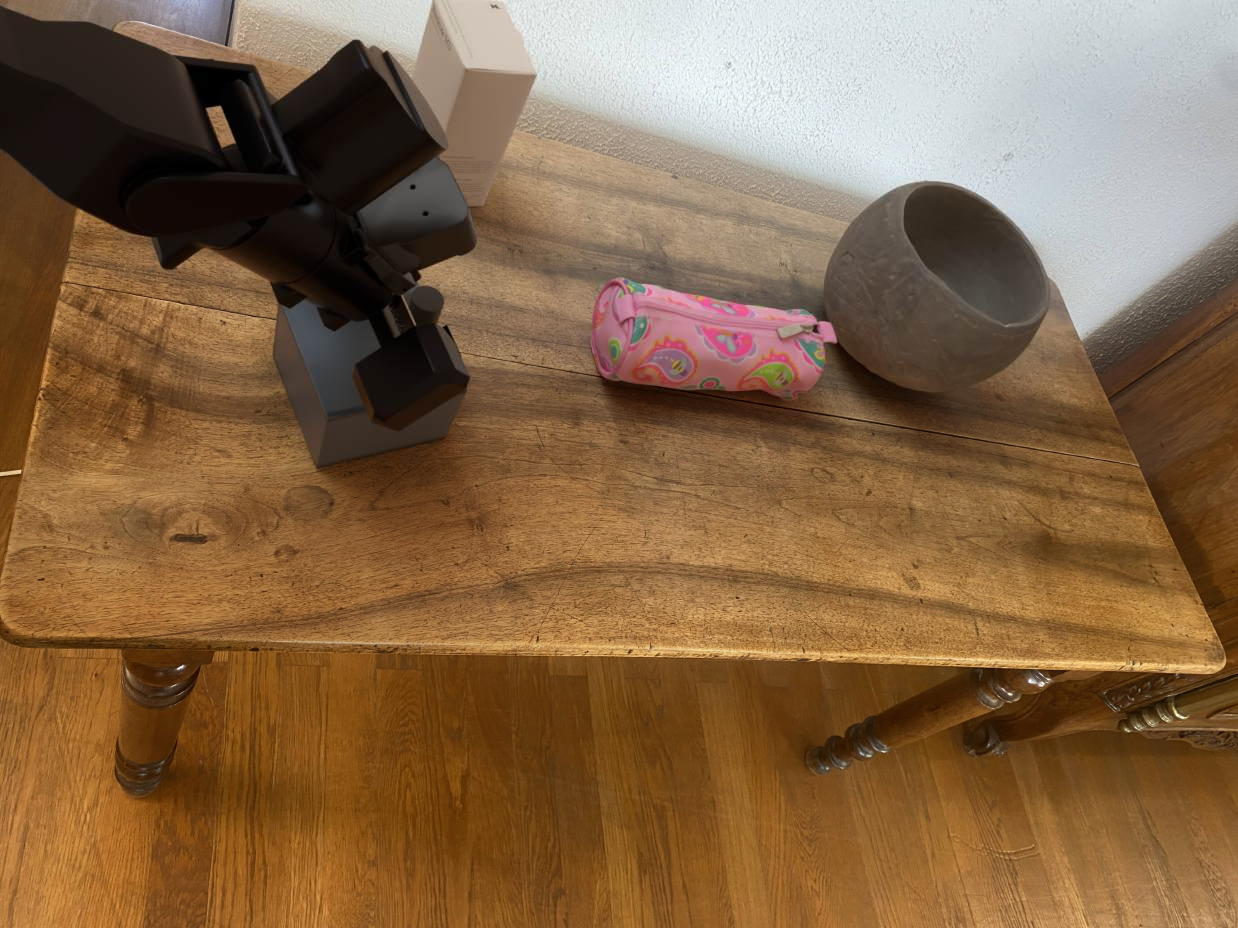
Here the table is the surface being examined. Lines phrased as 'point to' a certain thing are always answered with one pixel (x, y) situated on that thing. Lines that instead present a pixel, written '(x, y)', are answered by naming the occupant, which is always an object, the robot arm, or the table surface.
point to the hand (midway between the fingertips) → (436, 325)
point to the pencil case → (705, 342)
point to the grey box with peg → (347, 382)
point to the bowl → (935, 288)
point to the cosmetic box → (474, 86)
